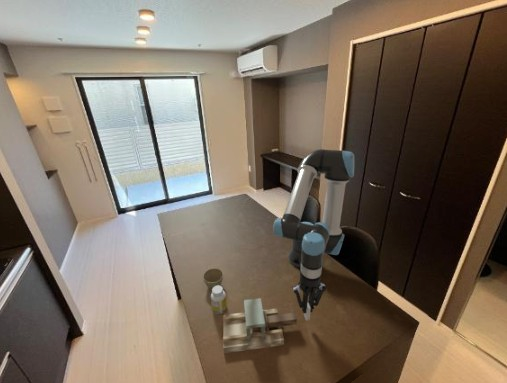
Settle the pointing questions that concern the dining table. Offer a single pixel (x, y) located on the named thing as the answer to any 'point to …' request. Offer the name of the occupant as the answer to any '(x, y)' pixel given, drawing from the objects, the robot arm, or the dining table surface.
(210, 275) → the flower pot
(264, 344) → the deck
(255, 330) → the tan wooden bar
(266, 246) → the dining table surface
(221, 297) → the pill bottle
